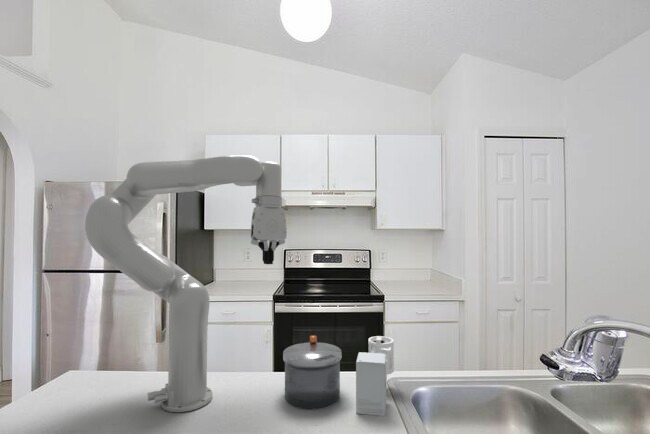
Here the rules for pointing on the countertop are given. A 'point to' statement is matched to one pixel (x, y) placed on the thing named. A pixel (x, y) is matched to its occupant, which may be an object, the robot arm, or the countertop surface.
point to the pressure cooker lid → (312, 354)
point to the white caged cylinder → (383, 351)
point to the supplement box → (371, 384)
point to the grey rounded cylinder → (312, 386)
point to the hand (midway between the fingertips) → (268, 263)
